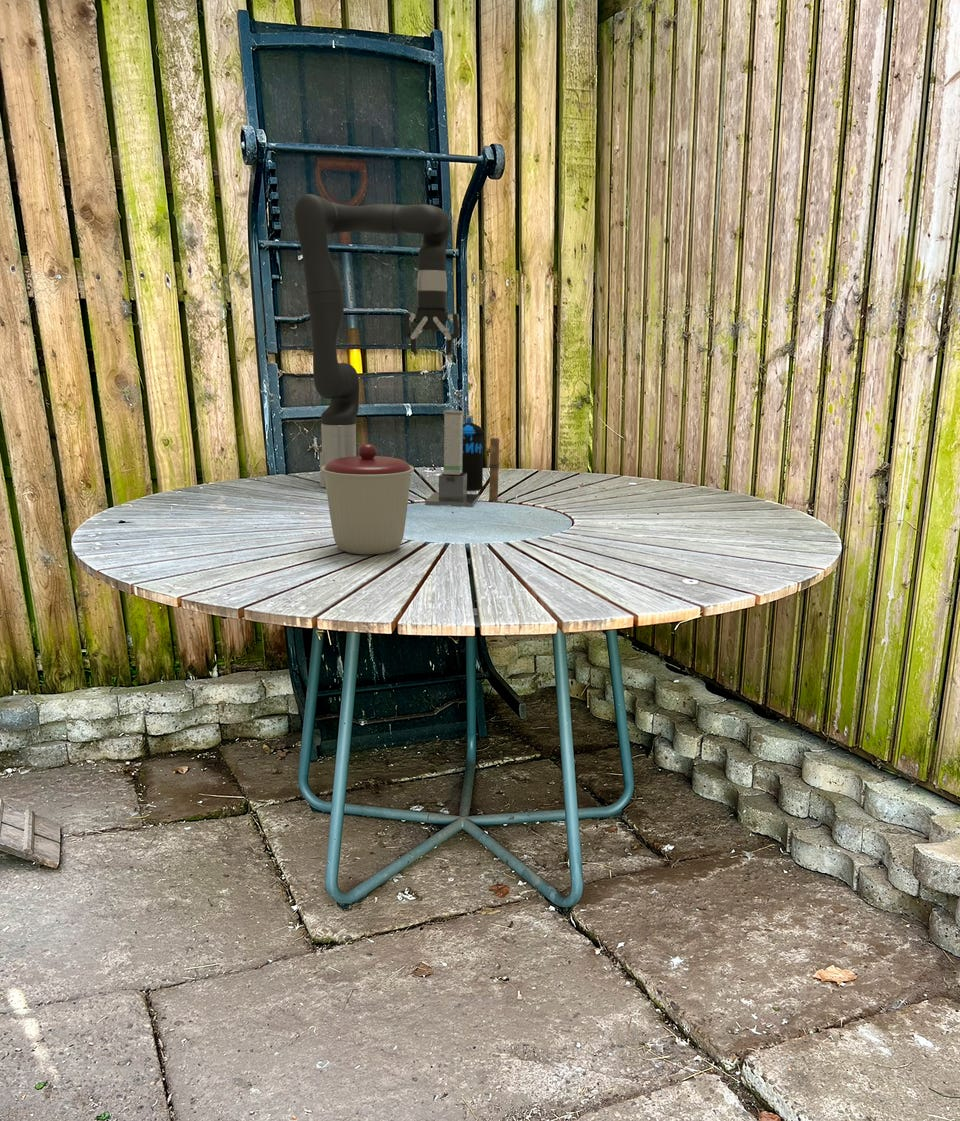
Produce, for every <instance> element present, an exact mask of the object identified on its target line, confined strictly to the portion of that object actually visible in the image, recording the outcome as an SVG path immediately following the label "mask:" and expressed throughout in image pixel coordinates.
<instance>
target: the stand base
mask: <svg viewBox="0 0 960 1121" xmlns="http://www.w3.org/2000/svg"><path fill="white" fill-rule="evenodd" d="M467 492H468V491H467V473H461V474H460V475H449V474H444V471H443V472H441V473H440V474H439V475H438V492H436V491H435V492H433V493H432V494H431V495H430V496H429V497H427V498H426V499H425V500H424V505H426V506H440V505H451V506H450V507H461V506H465V507H467V508H474V506H475V505H476V503H477V502H478V500H480V494H478V493H475V494H474V493H467Z"/></svg>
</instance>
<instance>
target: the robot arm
mask: <svg viewBox="0 0 960 1121" xmlns="http://www.w3.org/2000/svg"><path fill="white" fill-rule="evenodd" d="M293 214H294V216H293V217H294V222H295V226H296V233H297V236H298V241H299V245H300V250H301V255H302V264H303V265H302V266H303V272H304V280H305V281H304V282H305V290H306V293H305V294H306V300H307V308H308V313H309V322H310V333H311V342H312V343H311V344H312V369H313V370H312V371H313V375H312V376H313V383H314V387H315V390H316V392H317V393H318V395H319V396H320V397H322V398H323V399H327V400H330V403H329V405H328V406H327V408H326V409H325V410H324V411H323V412H322V413H321V415H320V416H321V417H320V421H321V422H320V424H321V426H320V428H321V451H319V472H320V474H319V476H320V479H319V480H320V481H319V483H320V487H321V488H326V482H325V474H324V473H323V472H322V471H321V467H322V466H324V465H326V464H327V463H328V462H329V461H332V460H334V459H338V458H343V457H352V456H357V431H356V430H357V429H356V426H357V425H356V423H357V422H356V419H357V416H358V414H359V406H360V405H359V403H360V402H359V401H360V400H359V399H360V380H359V375H358V372H357V370H356V368H355V367H354V366H353V365H352V364H350V363H347V362H339V361H338V354H337V339H338V335H339V332H340V329H341V325H342V322H343V319H344V318H343V317H344V313H345V311H344V310H345V307H344V306H345V305H344V296H343V288H342V285H341V281H340V278H339V276H338V272H337V270H336V267H335V265H334V263H333V260H332V257H331V255H330V252H329V251H330V250H329V245H328V236H327V235H332V234H340V233H351V232H359V233H361V232H364V233H365V232H366V233H375V234H384V235H385V234H387V235H406V234H418V235H423V237H422V238H423V240H422V247H420V248H419V250H418V255H417V256H418V259H417V260H418V261H417V262H418V263H417V264H418V272H417V278H416V279H417V280H416V282H417V284H416V288H417V289H416V290H417V292H416V294H417V295H416V300H417V301H416V303H417V304H416V306H417V307H416V313H411V312H406V313H404V322H403V325H404V327H403V336H404V337H406V338H409V339H410V351H411V353H413V355H418V354H419V353H418V350H419V349H418V348H419V347H418V346H419V345H418V344H419V343H418V337H419V336H420V335H421V333H422V332H423V330H424V331H437V332H438V331H440V332H441V333H442V334H443V336H444V337H445V338H446V340H445V356H450V355H451V354H452V352H453V341H454V340H455V339H457V338H460V336H461V334H460V316H459V314H458V313H452V314H451V313H450V314H449V313H448V311H447V307H448V306H447V305H448V304H447V302H448V301H447V300H448V299H447V298H448V296H447V295H448V293H447V292H448V291H447V290H448V281H447V256H446V254H447V249H448V242H449V237H450V226H451V225H450V219H449V215H448V214H447V212H446V211H445V210H444V209H442V208H441V207H438V206H435V205H433V204H410V205H409V204H408V205H405V204H403V205H402V204H395V203H393V204H390V203H375V204H368V205H360V206H359V205H356V206H355V205H345V204H341V203H336V202H333V201H329V199H327V198H324V197H322V196H318V195H316V194H312V193H306V194H303V195H301V196H300V197H299V198H298V199H297V201H296V203H295V206H294V213H293ZM414 319H416V320H417V322H418V324H417V326H416V328H415V329H414V331H413V332H411V330H412V329H411V328H412V326H411V325H412V323H413V322H414ZM448 320H449V321H450V323H451V324H452V328H453V330H452V331H453V333H452V334H451V332H450V330H449V328H448V327H447V326H446V323H447V321H448Z"/></svg>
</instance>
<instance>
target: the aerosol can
mask: <svg viewBox="0 0 960 1121" xmlns="http://www.w3.org/2000/svg"><path fill="white" fill-rule="evenodd" d="M484 433H485V430H483V428H482V427H481V426H480V425H479V424H475V423H474V415H472V414H470V415H467V414H466V415H465V423H463V445H462V473H467V492H468V491H469V492H470V491H473V492H474V491H481V490H483V489H484V486H483V483H484V482H483V478H484V474H483V473H484V471H483V469H484Z"/></svg>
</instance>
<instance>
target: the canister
mask: <svg viewBox="0 0 960 1121" xmlns="http://www.w3.org/2000/svg"><path fill="white" fill-rule="evenodd" d="M357 452H358V455H356V456H352V457H343V458H338V459H334V460H332V461H329V462H328V463H327V464H326V465H324V466H322V467H321V471H322V472H323V473H324V474H325V482H326V487H325V489H326V496H327V497H326V498H327V504H328V512H329V518H330V524H331V529H332V530H331V531H332V536H333V539H334V542H335V544H336V546H337V547H338V548H339V549H340V550H341V551H343V552H346V553H350V554H354V555H368V556H369V555H380V554H382V555H383V554H386V553H390V552H392V551H395V550H397V549H398V548H399V547H400V546H401V544H402V543H403V539H404V534H405V528H406V520H407V513H408V512H407V511H408V504H409V503H408V502H409V496H410V495H409V494H410V493H409V492H410V484H411V476H412V473H413V472H414V471H415V468H414V466H413V465H411V464H409V463H408V462H407V461H405V460H403V459H400V458H395V457H389V456H380V455H377V448H376V446H375V445H374V444H372V443H363V444H361V445H360V446H359V447H358V451H357Z"/></svg>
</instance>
